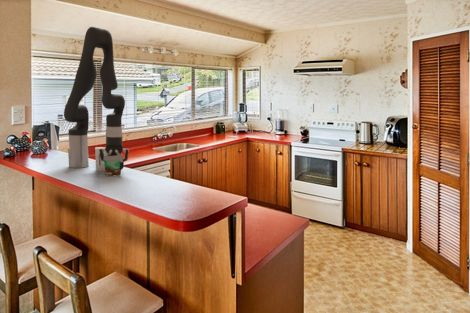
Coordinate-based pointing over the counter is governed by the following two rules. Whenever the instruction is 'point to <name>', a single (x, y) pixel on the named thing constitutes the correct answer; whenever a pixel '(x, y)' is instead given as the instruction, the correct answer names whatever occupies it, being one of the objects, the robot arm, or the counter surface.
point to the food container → (112, 165)
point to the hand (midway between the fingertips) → (114, 169)
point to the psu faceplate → (99, 159)
